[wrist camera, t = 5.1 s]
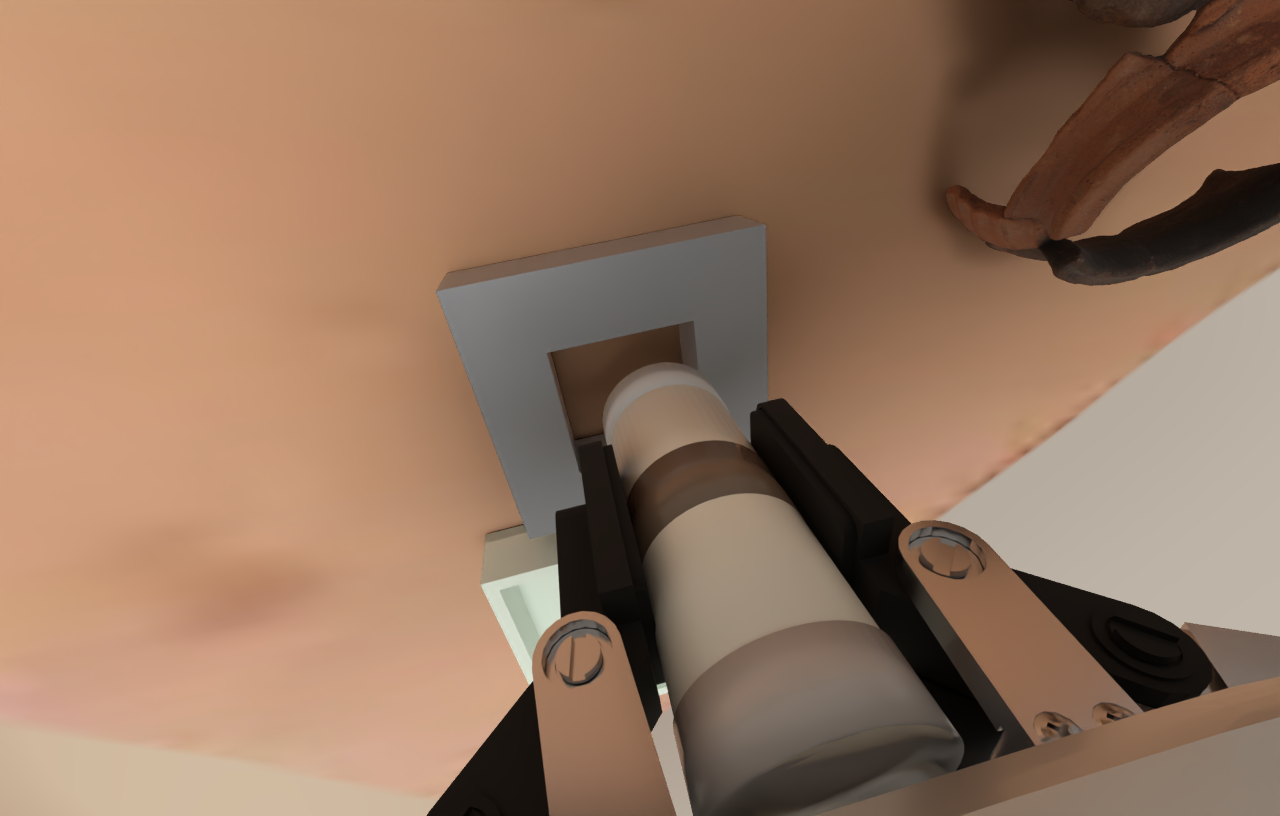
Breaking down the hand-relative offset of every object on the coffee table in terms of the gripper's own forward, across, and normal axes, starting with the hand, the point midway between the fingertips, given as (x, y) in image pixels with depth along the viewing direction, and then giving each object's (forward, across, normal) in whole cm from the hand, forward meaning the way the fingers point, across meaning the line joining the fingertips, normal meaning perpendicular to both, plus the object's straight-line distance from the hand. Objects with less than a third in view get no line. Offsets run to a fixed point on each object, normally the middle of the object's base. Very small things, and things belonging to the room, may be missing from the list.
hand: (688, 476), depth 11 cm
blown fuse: (+3, 0, 0) cm, 3 cm away
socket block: (+7, +1, 0) cm, 7 cm away
